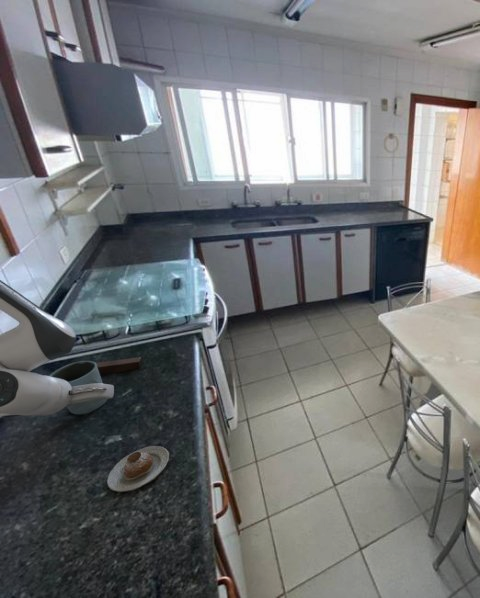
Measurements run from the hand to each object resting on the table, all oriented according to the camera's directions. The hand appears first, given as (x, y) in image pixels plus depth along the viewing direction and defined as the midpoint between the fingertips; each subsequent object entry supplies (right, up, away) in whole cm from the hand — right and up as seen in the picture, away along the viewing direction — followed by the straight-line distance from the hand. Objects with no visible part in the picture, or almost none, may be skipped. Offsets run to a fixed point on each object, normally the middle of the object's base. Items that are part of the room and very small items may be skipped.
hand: (77, 400), depth 90 cm
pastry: (+26, -13, -11) cm, 31 cm away
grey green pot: (-3, -3, +6) cm, 8 cm away
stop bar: (-9, +4, +21) cm, 23 cm away
